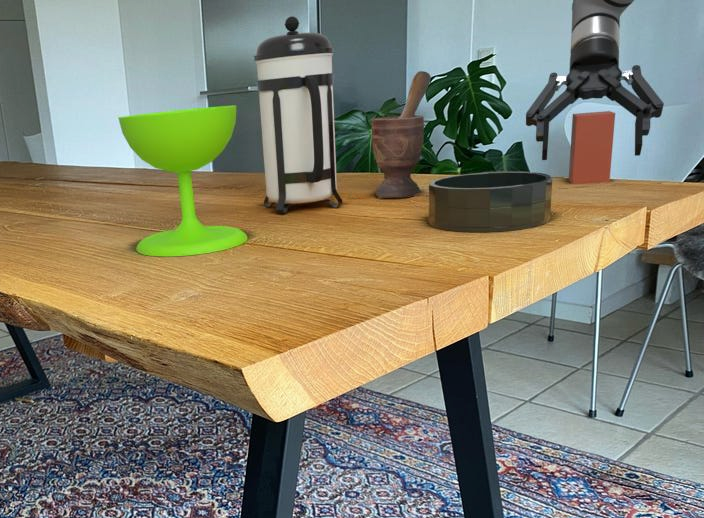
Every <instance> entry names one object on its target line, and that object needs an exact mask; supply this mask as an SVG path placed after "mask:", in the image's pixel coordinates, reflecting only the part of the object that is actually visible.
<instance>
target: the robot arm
mask: <svg viewBox="0 0 704 518" xmlns="http://www.w3.org/2000/svg"><path fill="white" fill-rule="evenodd" d="M634 1H635V0H572V4H571V13H572V14H571V35H570V52H569V53H570V55H569V56H570V57H569V70H568V71H569V73H568V74H567V75H562V76H561V75H560V76H559V75H558V73H557V72H550V74H549V76H548V82H547V84H546V85H545V86H544V88H543V89H542V91H541V92H540V93H539V94H538V95H537V98H536V99H535V100H534V101H533V103H532V104H531V105H530V107H529V108H528V110H527V111H526V113H525V126H527V127H531V126H534V127H536V129H535V141H536V142H537V143H539V142H542V149H541V154H542V155H541V161H547V160H548V149H549V148H548V147H549V132H550V123H551V122H552V121H553V120H554V119H555V118H556V117H557V116H559V114H561V113H562V112H563V111H564V110H565V109H566V108H568V106H570V105H573V104H574V103H576V102H577V100H578V99H581V100H582V101H586V100H590V99H591V100H592V99H603V98H604V97H606V98H607V99H608V100H610V101H611V102H616V103H617V104H618V105H619V106H621V107H622V108H623V109H624V110H626V111H627V112H629V113H630V114H631V115H633V116H634V118H635V122H634V157H636V156H639V157H640V156H641V153H642V149H643V137H644V136H645V137H646V136H647V137H648V136H649V134H650V131H651V119H652V118H656V119H657V118H658V119H659V118H661V116H662V114H663V110H664V107H665V106H664V105H665V104H664V101H663V100H662V99H661V97H660V96H659V95H658V94H657V92H656V91H655V90H654V88H652V86H651V84H650V83H649V82H648V81H647V80H646V78H645V77H644V76H643V75H642V74H643V73H642V69H641V66H640V65H639V64H635V65H633V66H631V69H629V70H628V69H627V70H623V71H622V69H620V34H621V33H620V31H621V30H620V29H621V23H620V22H621V16H622V14H623V13H624V12H626V10H627V9H628V7H630V5H632V4H633V2H634ZM621 81H625V82H626V83H627V85H628V86H631V89H632V91H633V92H634V93H635V94H634V93H633V92H631V91H630V90H629V89H627V88H626V87H625V86H624V85H623V84H622V82H621ZM564 85H565V86H566V88H565V90H564V91H563V92H562V93H561V94H560V95H558V96H557V97H556V98H555V99H554V100H553V101H552V102H551V100H552V99H553V97H554V95H555V93H556V92H558V91H559V90H560V89H561V88H562V86H564Z"/></svg>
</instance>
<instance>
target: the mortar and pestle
mask: <svg viewBox="0 0 704 518" xmlns="http://www.w3.org/2000/svg"><path fill="white" fill-rule="evenodd" d="M431 79H432V77H431V75H430V73H429V72H427V71H423V70H419V71H418V72H416V73H415V75H414V76H413V78H412V80H411V84H410V86H409V91H408V94H407V98H406V101H405V103H404V107H403V110H402V113H401V115H398V116H396V115H395V116H384V117H378V118H371V119H370V122H371V135H372V136H371V145H372V153H373V157H374V158H375V163H376V165H377V166H378V168H379V169H380V170H381V171H382V173H383V180H382V182H381V184H378V185H377V187H376V191H375V196H376V198H377V199H380V200H381V199H401V198H409V197H415V196H416V195H418V194H420V192H421V190H420V186H419V185H418V184H417V182H415V181H414V180H413V178H412V176H411V175H412V171H413V170H414V168H415V167H416V166H417V165H418V163H419V162H420V160H421V159H420V158H421V155H422V152H423V147H424V138H425V137H424V130H425V120H424V118H425V117H424V116H423V115H416V111H417V110H418V107H419V105H420V103H421V101H422V99H423V98H424V96H425V95H426V93H427V90H428V88H429V87H430V82H431Z"/></svg>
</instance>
